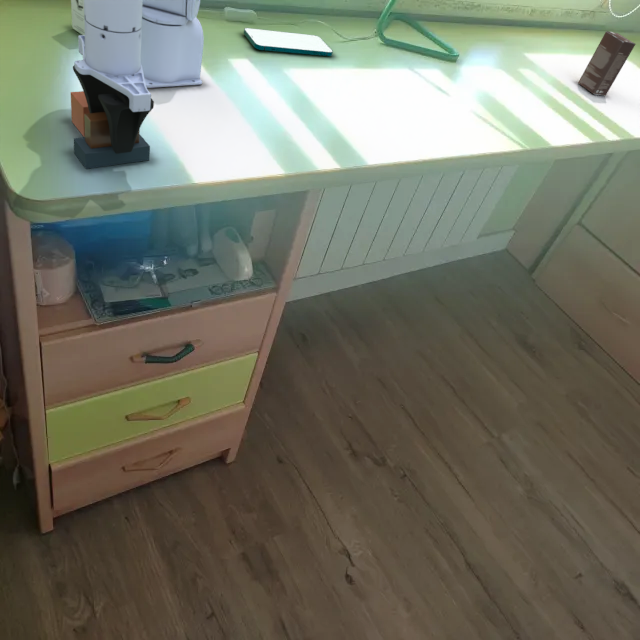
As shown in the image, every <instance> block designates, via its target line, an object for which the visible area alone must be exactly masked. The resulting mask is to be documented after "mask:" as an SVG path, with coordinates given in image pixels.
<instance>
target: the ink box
mask: <svg viewBox="0 0 640 640" xmlns="http://www.w3.org/2000/svg"><path fill="white" fill-rule="evenodd" d="M70 6H71V7H70V9H71V10H70V11H71V28H72V29H73V30H74V31H76V32H78V33H79V34H80V35H85V24H84V0H70Z"/></svg>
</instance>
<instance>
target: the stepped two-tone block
mask: <svg viewBox="0 0 640 640" xmlns="http://www.w3.org/2000/svg"><path fill="white" fill-rule="evenodd" d="M84 121H85V137H84V136H81V137H75V138H73V153H74V155H75V156H76V158H77V159H78V160H79V161H80V163H81V164H82V166H83V167H84V168H85V169H86V170H87V169H96V168H102V167H109V166H117V165H123V164H124V165H125V164H132V163H139V162H145V161H150V154H151V153H150V152H151V145H150V144H149V143H148V142H147V141H146V139H144V137H143V136H142V135H141V134H140V130H141V128H140V129H139V132H138V134H137V137H136V141H135V144H134V147H133V149H132V152H126V153H118V154H116V153H115V152H114V151H113V148H112V145H111V140H110V131H109V124H108V120H107V116H106V113H105V112H99V113H88V114H84Z"/></svg>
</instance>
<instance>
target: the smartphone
mask: <svg viewBox="0 0 640 640" xmlns="http://www.w3.org/2000/svg"><path fill="white" fill-rule="evenodd" d="M243 35H244V37H246V39H247V41H249V43H250V44H251V45H252V47H254V48H255V49H257V50H258V51H259V50H260V51H269V52H278V53H279V52H280V53H290V54H300V55H312V56H323V57H332V56H333V53H334V51H333V49H332V48H331V47H330V46H329V45H328V44H327V43H326V42H325V41H324V40H323V39H322V38H321V36H319V35H316V34H306V33H298V32H288V31H279V30H269V29H261V28H252V27H245V28H243Z"/></svg>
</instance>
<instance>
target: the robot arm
mask: <svg viewBox="0 0 640 640" xmlns="http://www.w3.org/2000/svg"><path fill="white" fill-rule="evenodd" d="M200 5H201V0H84V24H85V35H82V34H80V35H77V40H78V53H79V54H80V55H81V56H82V59H79V60H74V62H73V63H74V65H73V66H72V71H73V72H74V74H75V76H76V77H77V80H78V82H79V84H80V86H81V89H82V91H84V94H85V97H86V101H87V104H88V108H89V112H90V113H99V112H105V113H106V116H107V120H108V124H109V131H110V140H111V145H112V148H113V151H114V152H115V153H116V154H118V153H126V152H132V149H133V147H134V144H135V141H136V137H137V134H138V132H139V129H140V130H141V127H142V124H143V123H144V121H145V120H146V118H147V116H148V115H149V114H150V112H152V110H153V109H154V106H155V101H154V99H153V98H152V93H151V92H150V91H149V89H151V88H152V89H153V88H167V87H168V88H169V87H182V86H197V85H202V84H203V80H202V79H201V73H202V63H203V62H202V61H203V53H204V44H205V42H204V41H205V40H204V39H205V38H204V30H203V26H202V24H201V22H200V20H199V18H198V17H197V16H198V13H199V10H200ZM139 133H140V132H139Z"/></svg>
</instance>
